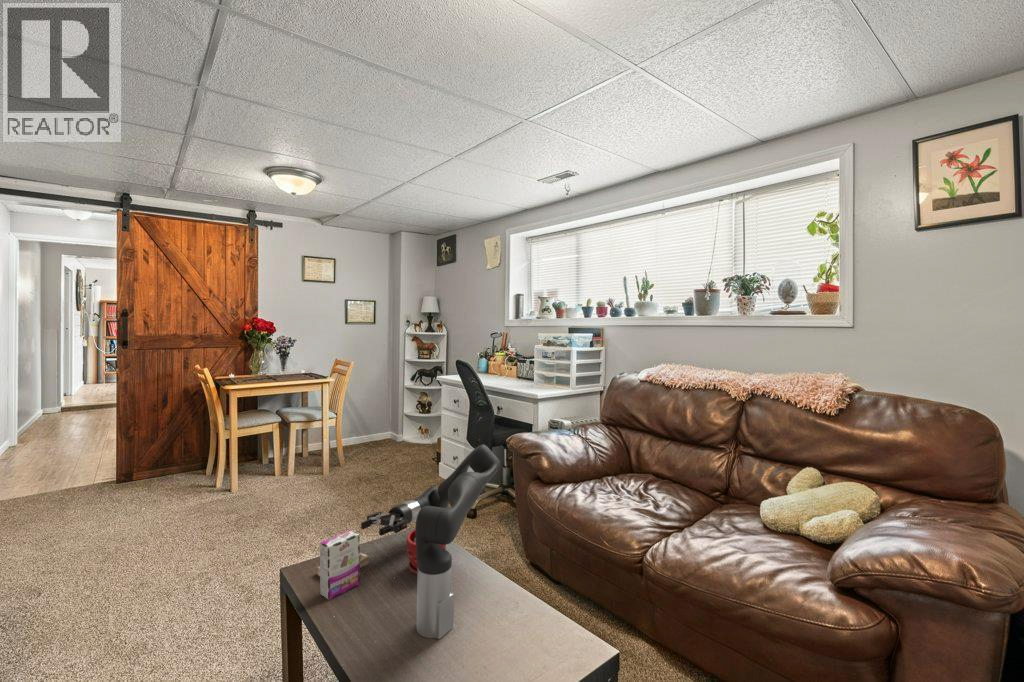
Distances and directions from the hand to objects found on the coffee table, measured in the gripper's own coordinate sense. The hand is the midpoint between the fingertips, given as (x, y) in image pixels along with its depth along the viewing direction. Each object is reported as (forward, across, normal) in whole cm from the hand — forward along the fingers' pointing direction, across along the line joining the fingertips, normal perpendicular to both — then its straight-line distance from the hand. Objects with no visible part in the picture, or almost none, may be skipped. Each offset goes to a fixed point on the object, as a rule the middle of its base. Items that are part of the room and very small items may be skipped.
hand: (370, 529), depth 157 cm
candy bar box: (+12, 0, -15) cm, 19 cm away
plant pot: (-12, -14, -15) cm, 24 cm away
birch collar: (+3, +9, -15) cm, 17 cm away
